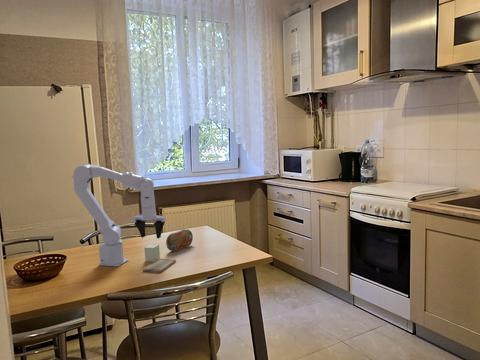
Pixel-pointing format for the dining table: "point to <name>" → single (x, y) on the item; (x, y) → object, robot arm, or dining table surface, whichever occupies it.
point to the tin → (179, 240)
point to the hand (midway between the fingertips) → (151, 237)
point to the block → (152, 252)
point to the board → (159, 265)
